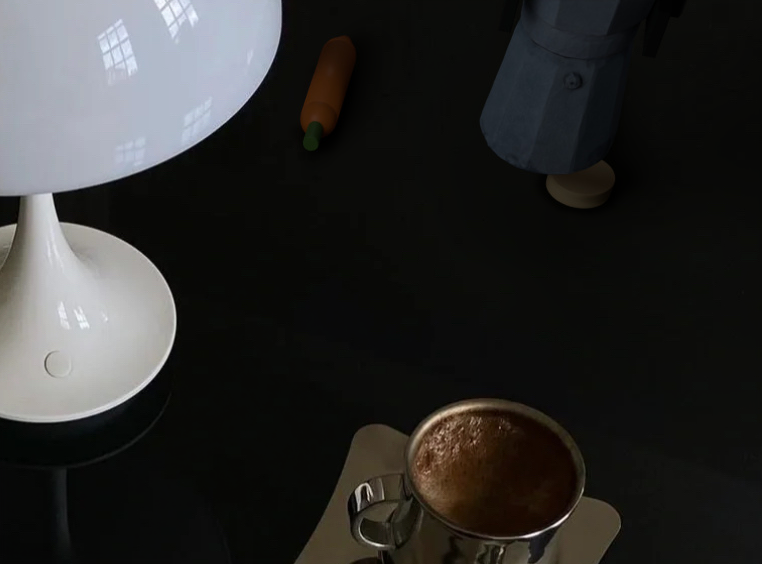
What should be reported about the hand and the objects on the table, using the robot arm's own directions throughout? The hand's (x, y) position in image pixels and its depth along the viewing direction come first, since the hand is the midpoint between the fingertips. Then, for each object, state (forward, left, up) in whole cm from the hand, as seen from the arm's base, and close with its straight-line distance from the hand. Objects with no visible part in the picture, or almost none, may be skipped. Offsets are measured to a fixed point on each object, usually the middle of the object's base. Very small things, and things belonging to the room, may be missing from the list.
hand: (583, 22), depth 77 cm
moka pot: (0, -5, -11) cm, 12 cm away
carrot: (+16, -16, -19) cm, 30 cm away
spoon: (-4, -16, -19) cm, 25 cm away
